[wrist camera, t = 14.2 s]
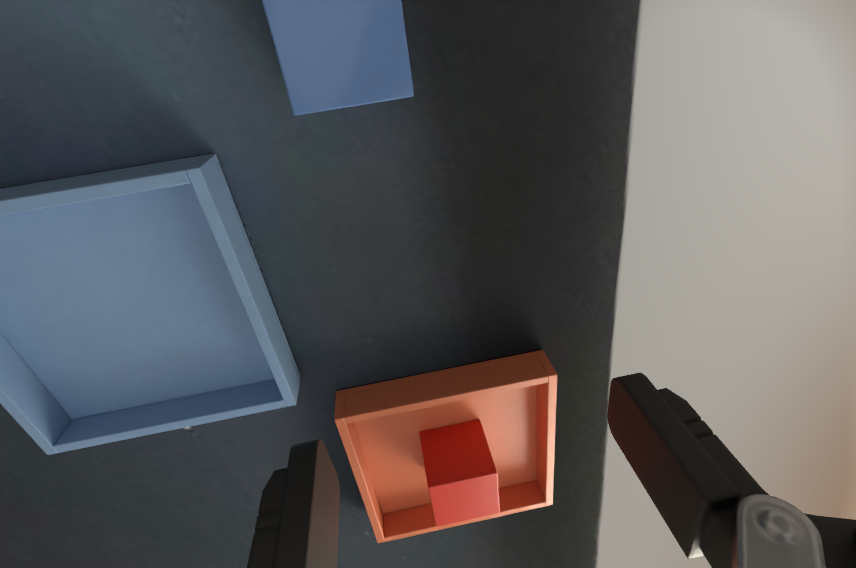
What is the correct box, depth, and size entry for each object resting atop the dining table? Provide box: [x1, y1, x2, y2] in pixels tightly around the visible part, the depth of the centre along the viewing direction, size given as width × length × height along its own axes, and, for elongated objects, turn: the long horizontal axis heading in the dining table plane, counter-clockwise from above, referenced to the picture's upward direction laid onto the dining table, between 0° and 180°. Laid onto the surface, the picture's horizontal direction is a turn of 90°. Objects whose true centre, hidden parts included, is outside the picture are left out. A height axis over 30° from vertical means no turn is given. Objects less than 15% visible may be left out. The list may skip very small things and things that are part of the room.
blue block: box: [262, 0, 414, 115], centre depth 17 cm, size 4×4×4 cm
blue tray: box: [0, 154, 301, 455], centre depth 22 cm, size 14×14×2 cm
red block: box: [419, 419, 500, 527], centre depth 30 cm, size 4×4×4 cm
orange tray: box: [335, 350, 557, 543], centre depth 32 cm, size 14×14×2 cm
